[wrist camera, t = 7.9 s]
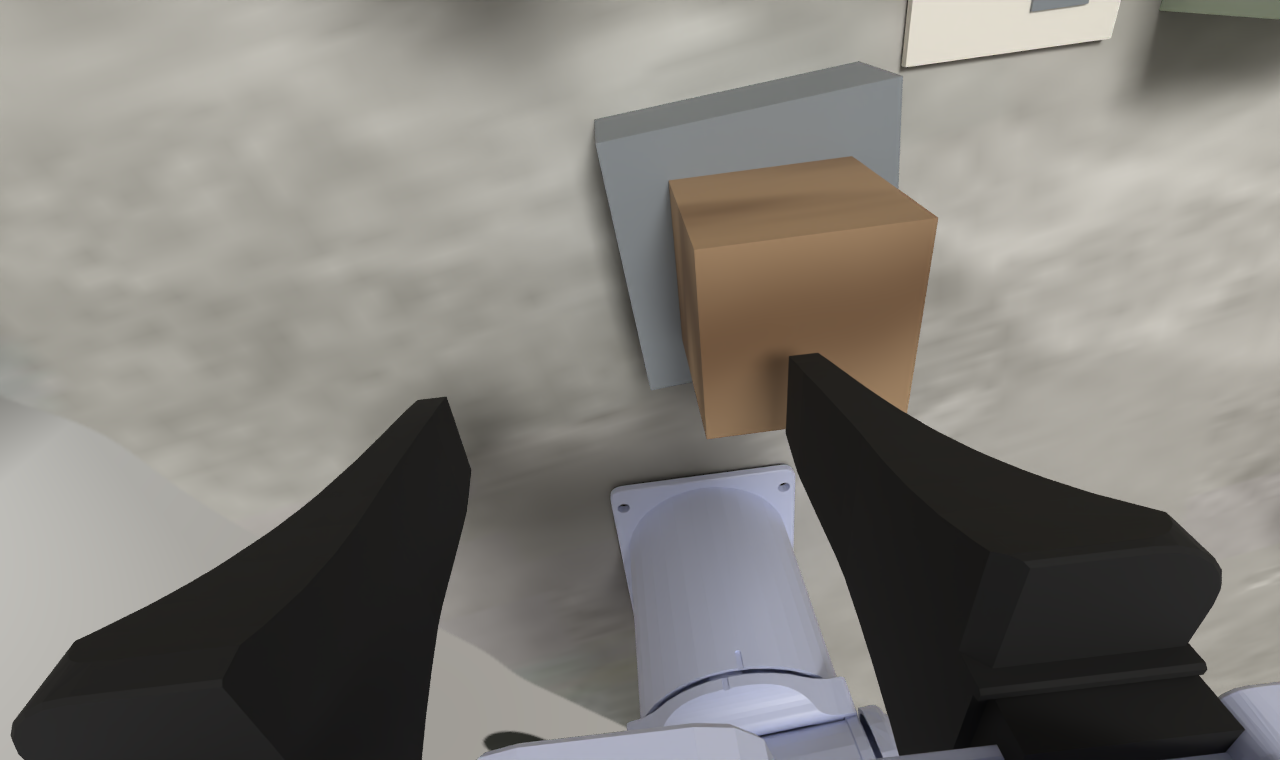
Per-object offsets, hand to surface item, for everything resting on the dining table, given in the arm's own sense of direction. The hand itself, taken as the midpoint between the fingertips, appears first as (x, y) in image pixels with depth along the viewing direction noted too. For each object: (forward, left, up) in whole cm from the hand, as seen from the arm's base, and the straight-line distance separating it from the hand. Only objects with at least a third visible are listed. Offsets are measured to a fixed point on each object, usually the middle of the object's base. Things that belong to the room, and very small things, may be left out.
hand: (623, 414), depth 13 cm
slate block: (0, -4, -10) cm, 11 cm away
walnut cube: (0, -4, -6) cm, 8 cm away
